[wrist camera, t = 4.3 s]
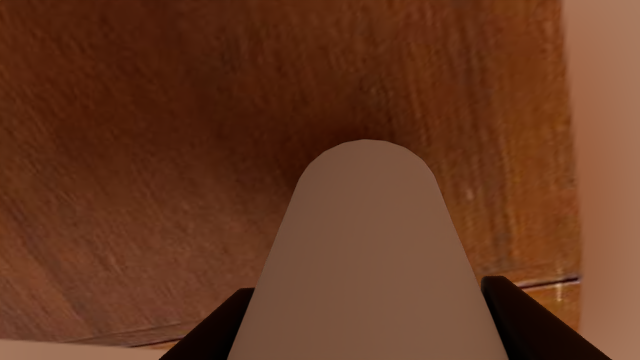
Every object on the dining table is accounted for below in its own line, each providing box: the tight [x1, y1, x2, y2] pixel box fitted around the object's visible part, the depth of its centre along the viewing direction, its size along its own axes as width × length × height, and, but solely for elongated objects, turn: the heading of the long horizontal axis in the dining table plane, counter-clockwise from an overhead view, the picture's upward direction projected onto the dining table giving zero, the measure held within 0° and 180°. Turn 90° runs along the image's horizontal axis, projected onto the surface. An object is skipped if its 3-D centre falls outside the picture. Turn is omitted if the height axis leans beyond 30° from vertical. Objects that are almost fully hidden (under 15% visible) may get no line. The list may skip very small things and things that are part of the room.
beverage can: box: [227, 139, 509, 360], centre depth 7 cm, size 5×5×12 cm
